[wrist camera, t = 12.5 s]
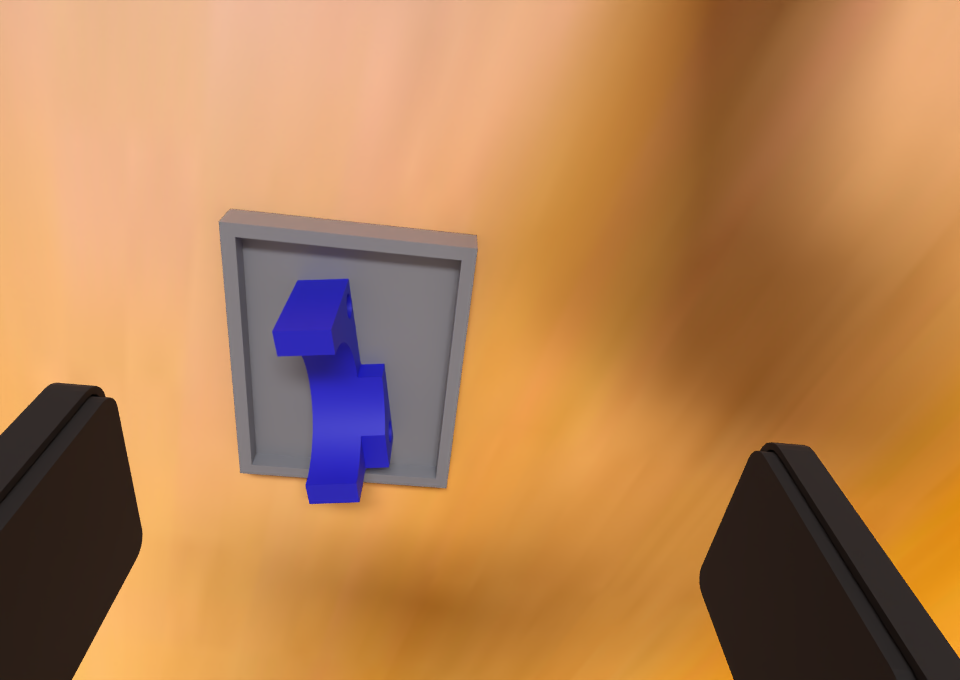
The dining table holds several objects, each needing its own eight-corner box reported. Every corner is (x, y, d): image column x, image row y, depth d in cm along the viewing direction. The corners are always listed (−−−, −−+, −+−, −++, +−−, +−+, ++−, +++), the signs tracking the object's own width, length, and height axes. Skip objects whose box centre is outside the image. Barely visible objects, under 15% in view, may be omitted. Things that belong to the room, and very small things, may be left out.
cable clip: (393, 437, 44) (384, 501, 39) (327, 439, 44) (309, 503, 39) (374, 277, 38) (360, 328, 33) (297, 280, 38) (271, 331, 33)
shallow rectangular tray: (476, 235, 38) (477, 248, 36) (447, 468, 47) (446, 488, 45) (230, 208, 37) (218, 221, 35) (248, 453, 46) (240, 472, 44)
